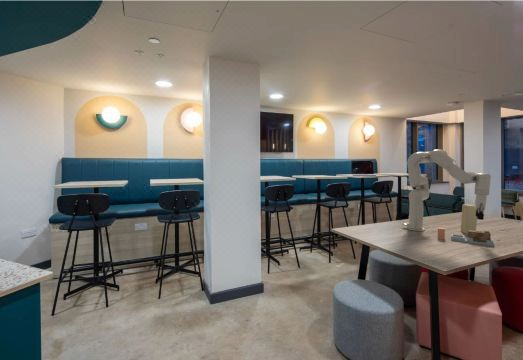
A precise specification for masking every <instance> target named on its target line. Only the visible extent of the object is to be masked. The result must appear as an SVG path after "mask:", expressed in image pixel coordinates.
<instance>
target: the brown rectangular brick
mask: <svg viewBox="0 0 523 360" xmlns="http://www.w3.org/2000/svg"><path fill="white" fill-rule="evenodd" d="M445 236H446V228H445V227H437V239H439V240H445V239H446V237H445Z"/></svg>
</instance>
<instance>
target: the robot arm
mask: <svg viewBox="0 0 523 360" xmlns="http://www.w3.org/2000/svg"><path fill="white" fill-rule="evenodd" d="M430 163H431V164H432V163H435V164H437V165H438V166H439V167H441V168H443V169H444V170H445V171H446V172H447V173H448V174H449V176H451V177H452V178H453V179H455V180H456V181H458V182H459V183H461V184H464V185H466V184H467V185H469V184H475V185H474V195H475V198H474V199H475V201H474V205H475V209H476V216H477V220H484V217H485V213H484V212H485V211H486V205H487V196H489V195H490V189H491V179H492V178H491V177H492V176H491V174H490V173H486V172H479V173H478V172H471V171H468V172H467V171H466V170H463V168H461V167H459V165H458V164H457V161H456V160H455V159H454V158H453V157H451V156H449V155H448V153H447V151H446V150H444V149H433V150H431V151H418V152H414V153H412V154H410V156H408V158H407V171H408V182H409V185H410V187H412V188H414V189H411V190H410V191H409V193H408V203H409V205H408V206H409V210H408V211H409V214H408V222H402V226H405V227H406V229H407V230H409V231H415V232H424V231H425V230H426V228H424V226H423V225H424V202H423V201H425V200H428V199H429V198H430V184H429V179H428V177H427V176H425V175H424V174H422V171H421V170H422V169H421V167H420V164H430ZM477 210H478V211H477Z"/></svg>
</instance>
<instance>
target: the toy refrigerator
mask: <svg viewBox="0 0 523 360" xmlns="http://www.w3.org/2000/svg"><path fill="white" fill-rule="evenodd" d="M461 206H462V207H461V219H460V220H461V221H460V232H461V233H463V234H465V235H468V230H476V231H477V223H478V219H477V216H476V209H475V204H471V203H463V204H462V205H461ZM477 211H478V210H477Z"/></svg>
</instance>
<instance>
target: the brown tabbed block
mask: <svg viewBox="0 0 523 360" xmlns="http://www.w3.org/2000/svg"><path fill="white" fill-rule="evenodd" d="M467 235H468V237H467V238H473V241H479V242H486V240H490V238H491V232H490V231H489V230H477V229H476V230H468V234H467Z"/></svg>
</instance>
